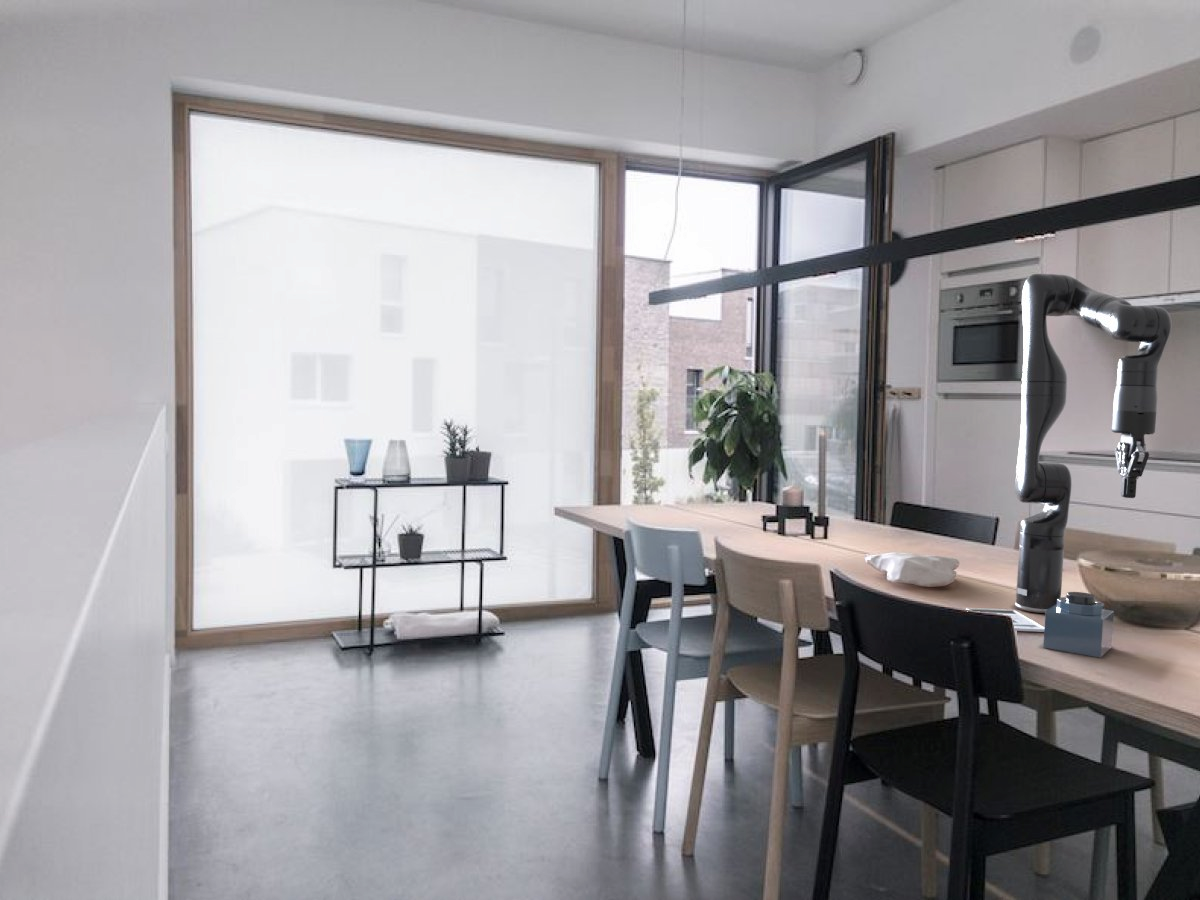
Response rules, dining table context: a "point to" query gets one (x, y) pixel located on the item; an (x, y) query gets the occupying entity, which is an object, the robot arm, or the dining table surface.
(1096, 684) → the dining table surface
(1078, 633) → the blue-grey box with cap
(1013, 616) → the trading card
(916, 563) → the rock
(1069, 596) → the button
